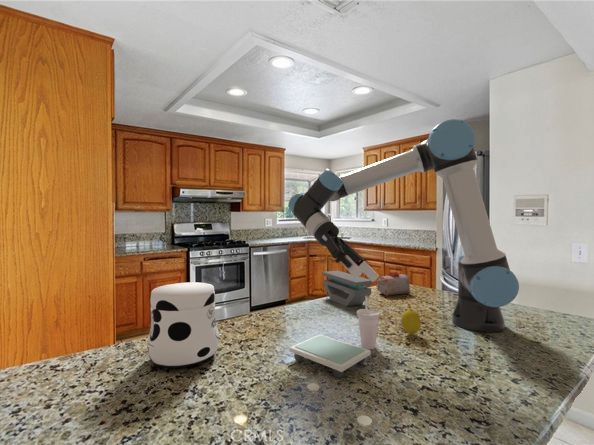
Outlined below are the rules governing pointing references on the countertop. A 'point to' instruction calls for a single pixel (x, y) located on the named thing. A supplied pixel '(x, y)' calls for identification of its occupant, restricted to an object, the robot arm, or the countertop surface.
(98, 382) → the countertop surface
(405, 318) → the lemon
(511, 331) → the countertop surface
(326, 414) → the countertop surface
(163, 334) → the milk container
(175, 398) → the countertop surface
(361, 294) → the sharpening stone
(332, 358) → the tray
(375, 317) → the smoothie
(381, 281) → the grey boxy piece
